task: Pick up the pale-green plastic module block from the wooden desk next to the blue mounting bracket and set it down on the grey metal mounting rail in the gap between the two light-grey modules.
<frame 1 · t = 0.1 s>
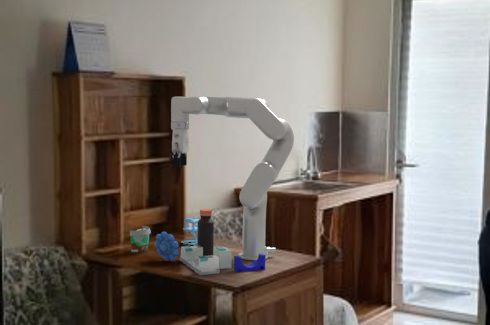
hand: (179, 166, 304), 37 cm above the table, tool pointing down, fingers open, 9 cm apart
module: (222, 266, 285), on the table
rail: (199, 266, 283), on the table
chair: (193, 243, 326), on the table
grapes: (165, 261, 291), on the table
blue mounting bracket: (248, 270, 281), on the table
bottle: (205, 257, 300), on the table
food container: (142, 252, 308), on the table
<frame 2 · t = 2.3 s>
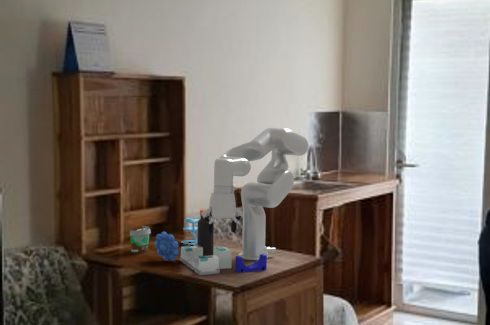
hand: (221, 232, 283), 14 cm above the table, tool pointing down, fingers open, 9 cm apart
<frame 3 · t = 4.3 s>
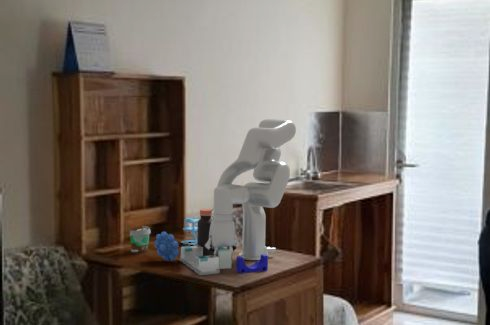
hand: (222, 262, 285), 1 cm above the table, tool pointing down, fingers closed on module, 5 cm apart
module: (222, 266, 285), on the table, touching gripper
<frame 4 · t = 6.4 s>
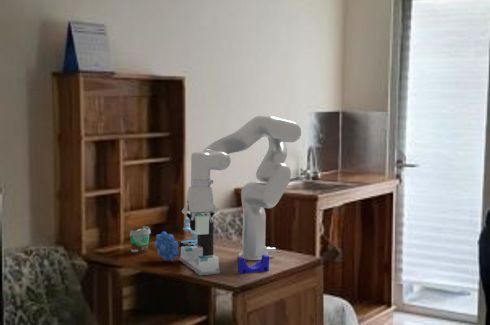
hand: (199, 228, 282), 15 cm above the table, tool pointing down, fingers closed on module, 5 cm apart
module: (199, 232, 282), point 14 cm above the table, touching gripper
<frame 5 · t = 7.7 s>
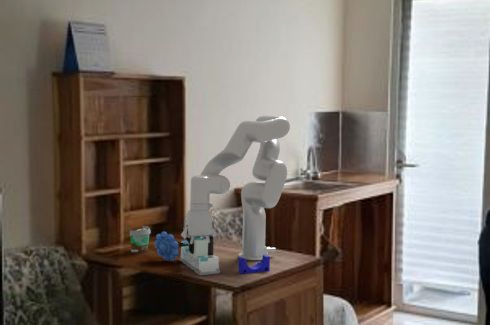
hand: (198, 252, 282), 6 cm above the table, tool pointing down, fingers closed on module, 5 cm apart
module: (198, 256, 282), point 4 cm above the table, touching gripper
when the fingers open (4 cm above the table, at t = 8.8 s): module drops 1 cm, resting on rail.
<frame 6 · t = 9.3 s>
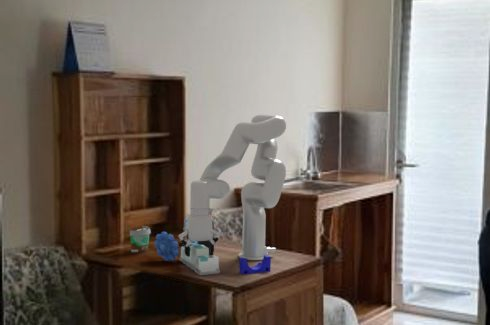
hand: (199, 255, 283), 5 cm above the table, tool pointing down, fingers open, 9 cm apart
module: (199, 264, 283), point 1 cm above the table, touching rail
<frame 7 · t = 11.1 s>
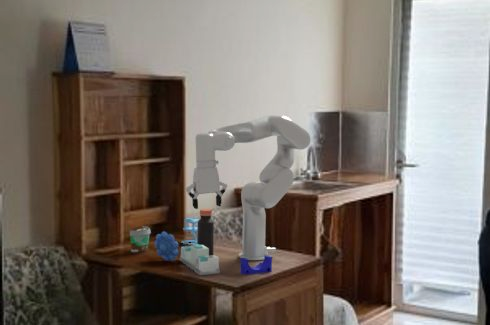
hand: (207, 207, 285), 23 cm above the table, tool pointing down, fingers open, 9 cm apart
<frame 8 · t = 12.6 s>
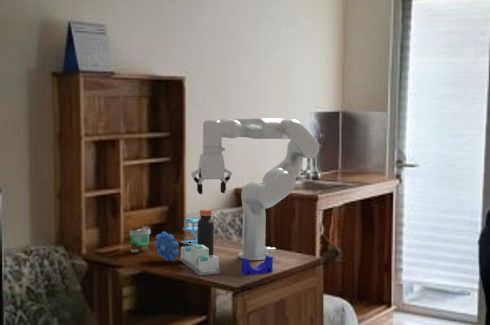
hand: (211, 193, 289), 28 cm above the table, tool pointing down, fingers open, 9 cm apart
at the end: module inside the target area on the rail (0.1 cm from its centre), point 1.0 cm above the rail's base; module tilted 0°; the gripper is holding nothing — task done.
